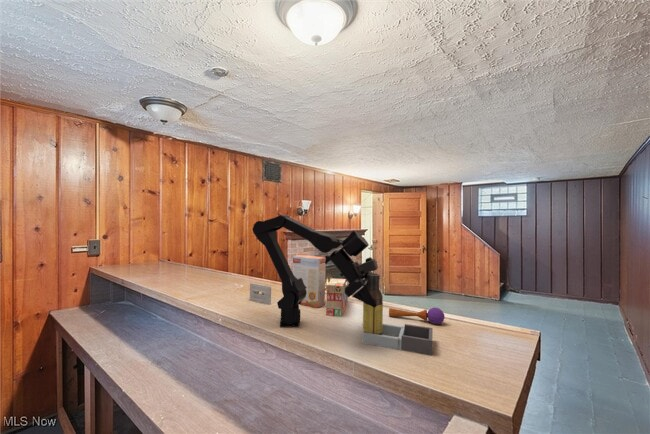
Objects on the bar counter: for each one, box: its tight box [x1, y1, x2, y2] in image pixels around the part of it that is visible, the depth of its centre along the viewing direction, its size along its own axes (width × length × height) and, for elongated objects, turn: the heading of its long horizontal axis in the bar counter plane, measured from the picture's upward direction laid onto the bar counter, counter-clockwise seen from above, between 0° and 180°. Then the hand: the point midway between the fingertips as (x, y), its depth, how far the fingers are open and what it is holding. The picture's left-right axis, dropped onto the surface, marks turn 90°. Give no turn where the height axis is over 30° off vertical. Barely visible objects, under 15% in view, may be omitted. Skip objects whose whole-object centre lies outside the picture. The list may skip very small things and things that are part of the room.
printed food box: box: [325, 278, 349, 317], centre depth 125 cm, size 21×6×12 cm, turn 170°
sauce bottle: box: [362, 272, 384, 335], centre depth 95 cm, size 6×6×20 cm
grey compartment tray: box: [362, 323, 434, 356], centre depth 92 cm, size 20×11×4 cm, turn 70°
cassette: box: [249, 282, 272, 306], centre depth 130 cm, size 12×2×8 cm, turn 58°
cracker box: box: [292, 254, 327, 309], centre depth 130 cm, size 14×6×21 cm, turn 58°
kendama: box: [388, 307, 446, 325], centre depth 113 cm, size 6×6×20 cm
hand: (377, 303), depth 95 cm, fingers closed on sauce bottle, 6 cm apart
